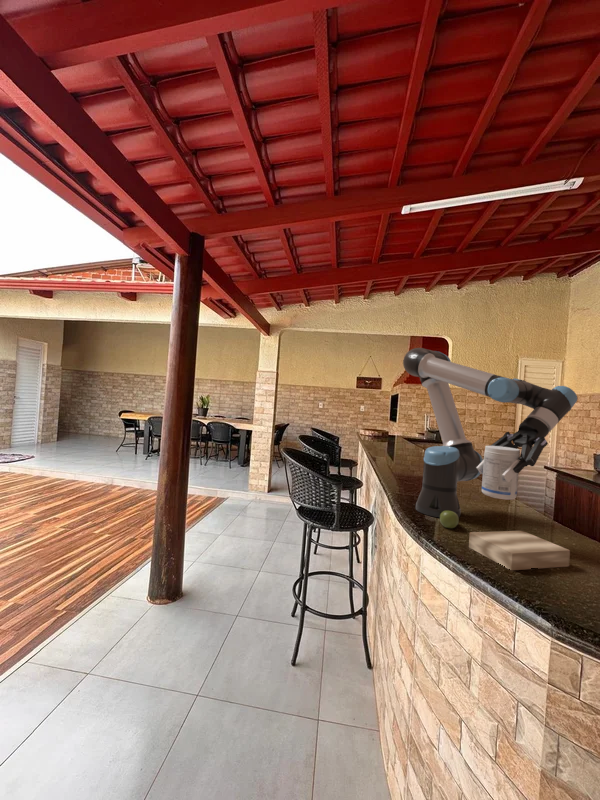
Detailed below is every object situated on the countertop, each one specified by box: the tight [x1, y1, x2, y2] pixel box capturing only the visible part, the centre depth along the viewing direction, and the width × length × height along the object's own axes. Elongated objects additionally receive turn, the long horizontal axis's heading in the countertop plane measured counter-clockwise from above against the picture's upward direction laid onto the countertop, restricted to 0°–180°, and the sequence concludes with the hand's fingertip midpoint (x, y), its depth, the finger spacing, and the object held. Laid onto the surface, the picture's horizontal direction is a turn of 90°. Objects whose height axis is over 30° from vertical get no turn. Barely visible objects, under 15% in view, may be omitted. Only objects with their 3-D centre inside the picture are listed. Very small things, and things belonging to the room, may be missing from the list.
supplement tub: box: [481, 445, 521, 501], centre depth 113 cm, size 10×10×15 cm
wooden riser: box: [468, 530, 571, 571], centre depth 97 cm, size 14×18×4 cm
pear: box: [439, 511, 460, 529], centre depth 120 cm, size 6×5×10 cm
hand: (491, 474), depth 113 cm, fingers closed on supplement tub, 9 cm apart
